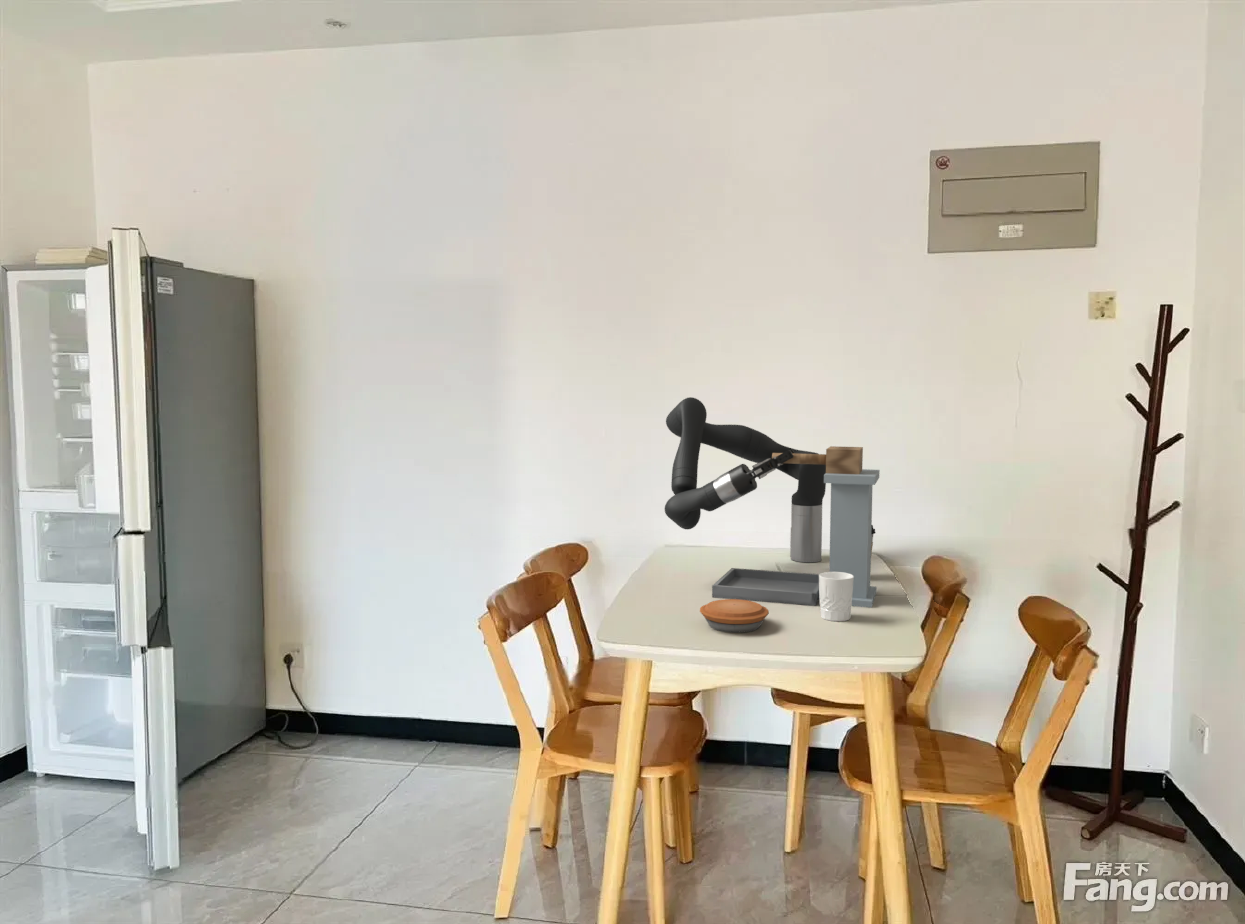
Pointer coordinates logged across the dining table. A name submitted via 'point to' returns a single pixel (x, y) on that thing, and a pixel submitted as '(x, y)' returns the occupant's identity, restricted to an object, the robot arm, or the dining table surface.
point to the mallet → (833, 459)
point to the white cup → (835, 595)
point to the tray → (768, 586)
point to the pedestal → (852, 530)
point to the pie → (734, 615)
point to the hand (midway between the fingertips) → (792, 452)
